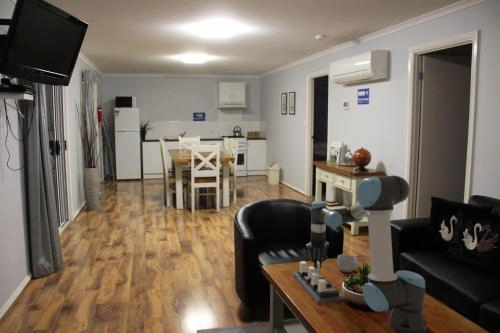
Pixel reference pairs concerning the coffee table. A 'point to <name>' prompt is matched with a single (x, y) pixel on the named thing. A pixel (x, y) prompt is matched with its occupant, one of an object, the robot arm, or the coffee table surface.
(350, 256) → the teacup
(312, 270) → the breaker handle
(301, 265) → the breaker handle
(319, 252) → the robot arm
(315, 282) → the breaker handle
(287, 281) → the coffee table surface
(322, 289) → the breaker handle
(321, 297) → the panel
